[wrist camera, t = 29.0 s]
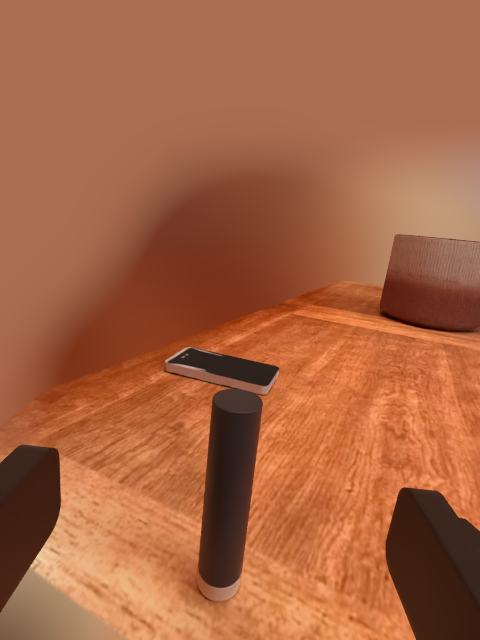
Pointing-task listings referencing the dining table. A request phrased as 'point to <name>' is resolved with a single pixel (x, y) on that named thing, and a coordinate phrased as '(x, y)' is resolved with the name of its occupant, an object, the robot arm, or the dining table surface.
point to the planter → (433, 283)
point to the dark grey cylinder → (228, 491)
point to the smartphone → (223, 370)
